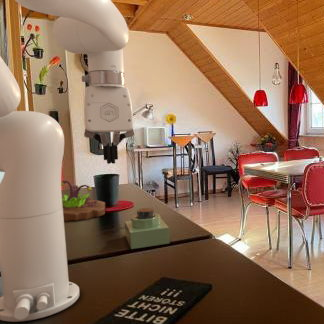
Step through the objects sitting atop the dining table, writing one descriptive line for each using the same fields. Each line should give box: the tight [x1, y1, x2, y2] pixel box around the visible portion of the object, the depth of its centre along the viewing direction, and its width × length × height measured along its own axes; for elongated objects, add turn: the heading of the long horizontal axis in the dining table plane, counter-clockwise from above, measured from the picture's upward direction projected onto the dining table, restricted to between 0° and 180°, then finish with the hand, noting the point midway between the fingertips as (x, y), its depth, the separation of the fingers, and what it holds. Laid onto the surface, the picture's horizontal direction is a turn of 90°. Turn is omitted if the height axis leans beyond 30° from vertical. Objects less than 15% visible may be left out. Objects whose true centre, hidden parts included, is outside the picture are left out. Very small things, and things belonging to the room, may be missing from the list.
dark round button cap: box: [136, 207, 155, 219], centre depth 96 cm, size 4×4×2 cm
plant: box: [61, 180, 106, 222], centre depth 125 cm, size 20×20×11 cm
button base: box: [124, 212, 171, 250], centre depth 96 cm, size 11×9×6 cm
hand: (111, 163), depth 88 cm, fingers closed
